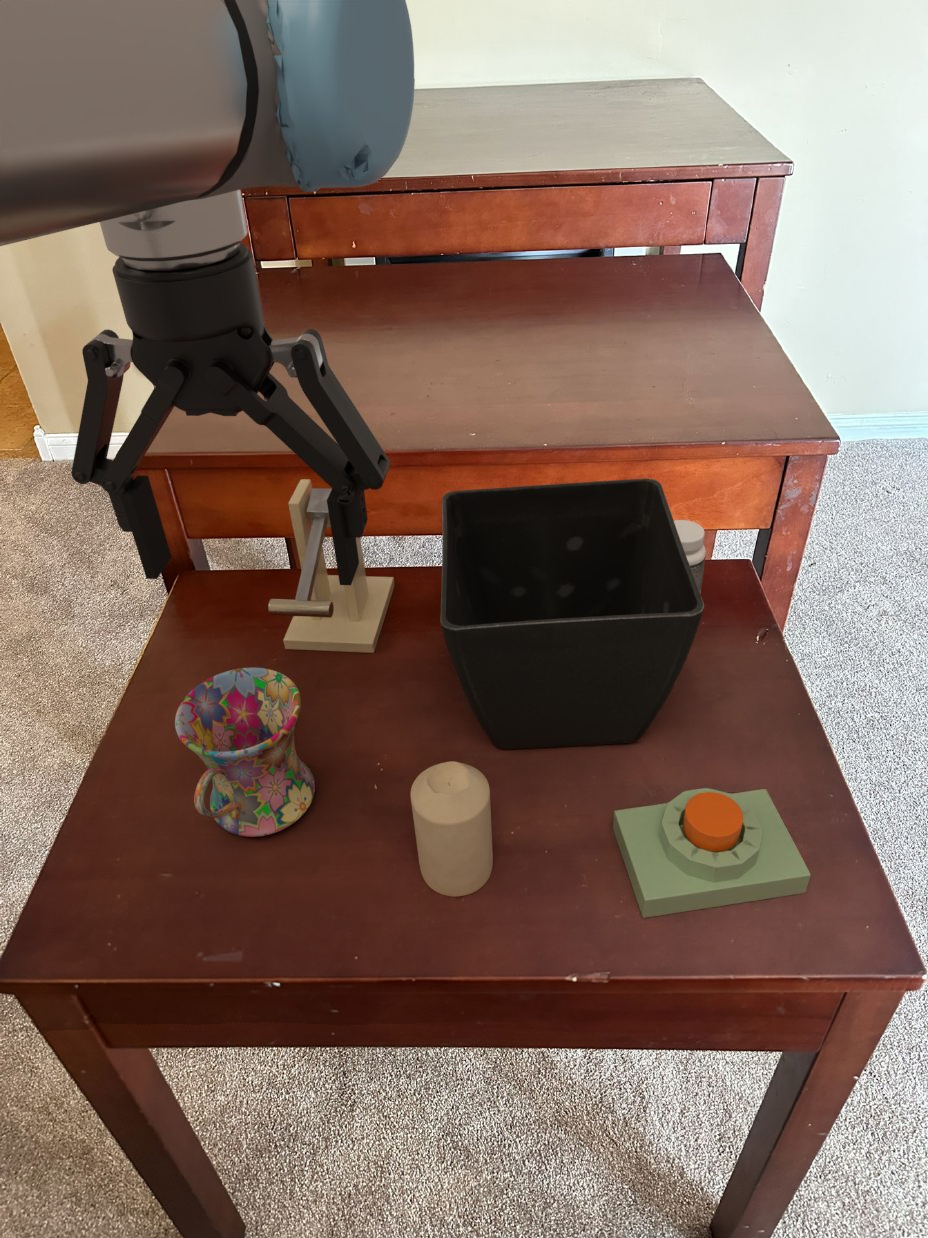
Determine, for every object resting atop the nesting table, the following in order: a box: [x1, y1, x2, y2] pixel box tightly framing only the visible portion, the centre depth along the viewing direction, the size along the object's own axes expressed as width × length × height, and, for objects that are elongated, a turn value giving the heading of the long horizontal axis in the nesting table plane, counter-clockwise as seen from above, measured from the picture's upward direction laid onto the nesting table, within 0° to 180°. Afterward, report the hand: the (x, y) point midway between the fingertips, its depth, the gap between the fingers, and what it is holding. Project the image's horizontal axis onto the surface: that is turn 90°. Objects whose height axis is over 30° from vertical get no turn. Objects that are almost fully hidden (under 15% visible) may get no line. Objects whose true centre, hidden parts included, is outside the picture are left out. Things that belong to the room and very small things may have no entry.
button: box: [683, 792, 743, 852], centre depth 64 cm, size 4×4×2 cm
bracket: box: [282, 478, 395, 654], centre depth 87 cm, size 11×9×15 cm
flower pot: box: [439, 478, 705, 751], centre depth 76 cm, size 19×19×17 cm
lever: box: [267, 487, 334, 617], centre depth 81 cm, size 13×6×2 cm, turn 173°
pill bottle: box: [673, 519, 707, 595], centre depth 89 cm, size 5×5×8 cm
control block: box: [612, 787, 812, 919], centre depth 66 cm, size 12×8×4 cm, turn 98°
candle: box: [410, 760, 494, 898], centre depth 64 cm, size 6×6×10 cm
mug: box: [174, 667, 316, 838], centre depth 69 cm, size 12×9×11 cm
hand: (253, 571), depth 62 cm, fingers open, 13 cm apart
